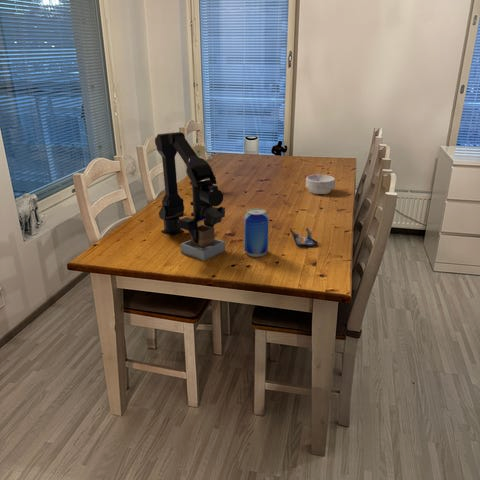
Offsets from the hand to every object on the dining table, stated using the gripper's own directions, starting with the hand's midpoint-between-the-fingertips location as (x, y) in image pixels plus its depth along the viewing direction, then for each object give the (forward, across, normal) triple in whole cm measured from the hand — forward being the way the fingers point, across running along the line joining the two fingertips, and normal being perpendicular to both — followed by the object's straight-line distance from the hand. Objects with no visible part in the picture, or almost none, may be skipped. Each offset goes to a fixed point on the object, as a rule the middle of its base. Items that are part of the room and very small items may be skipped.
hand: (202, 240), depth 158 cm
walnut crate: (+1, 0, 0) cm, 1 cm away
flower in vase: (+5, +59, +55) cm, 81 cm away
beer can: (+5, +11, -16) cm, 20 cm away
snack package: (+5, +30, -24) cm, 39 cm away
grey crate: (+4, 0, 0) cm, 4 cm away
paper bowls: (+5, +95, +5) cm, 95 cm away
